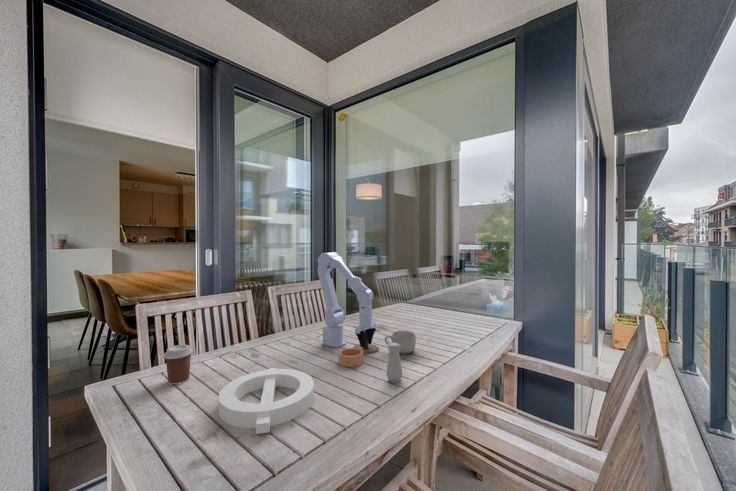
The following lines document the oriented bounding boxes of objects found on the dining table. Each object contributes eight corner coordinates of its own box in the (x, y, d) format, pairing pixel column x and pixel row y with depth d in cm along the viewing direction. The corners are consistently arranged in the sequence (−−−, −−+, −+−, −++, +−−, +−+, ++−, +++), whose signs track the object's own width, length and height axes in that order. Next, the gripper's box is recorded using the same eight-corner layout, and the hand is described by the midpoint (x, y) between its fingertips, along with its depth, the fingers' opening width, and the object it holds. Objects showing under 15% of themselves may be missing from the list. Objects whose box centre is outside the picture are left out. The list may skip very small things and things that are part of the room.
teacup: (415, 347, 146) (415, 330, 145) (416, 356, 135) (416, 337, 135) (385, 347, 147) (385, 330, 147) (384, 355, 136) (384, 337, 136)
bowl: (333, 363, 128) (333, 353, 128) (348, 355, 136) (348, 346, 136) (354, 368, 123) (354, 358, 122) (368, 360, 131) (367, 350, 131)
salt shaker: (404, 378, 114) (404, 342, 114) (400, 385, 108) (400, 347, 108) (388, 376, 116) (388, 340, 116) (384, 382, 110) (384, 345, 110)
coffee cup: (189, 373, 120) (188, 341, 120) (196, 380, 113) (196, 347, 113) (161, 381, 113) (160, 347, 113) (167, 389, 107) (166, 354, 107)
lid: (347, 351, 143) (347, 342, 143) (362, 343, 153) (362, 335, 153) (370, 356, 136) (370, 346, 136) (383, 348, 146) (383, 339, 146)
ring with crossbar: (262, 442, 79) (261, 423, 79) (198, 410, 94) (198, 394, 94) (332, 394, 103) (331, 380, 103) (272, 375, 118) (272, 363, 118)
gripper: (364, 320, 136) (364, 351, 136) (381, 313, 148) (381, 342, 149) (351, 318, 140) (351, 349, 140) (368, 311, 152) (368, 340, 152)
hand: (365, 345), depth 145 cm, fingers open, 5 cm apart
